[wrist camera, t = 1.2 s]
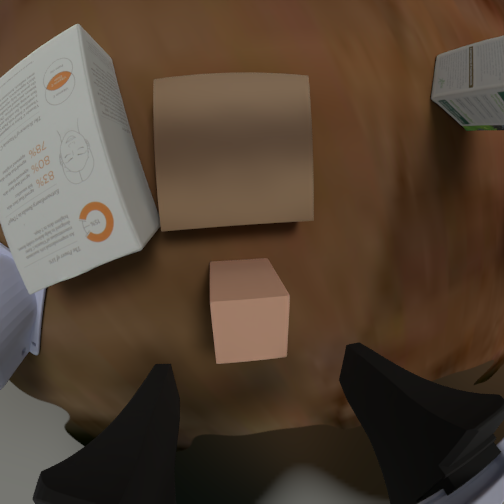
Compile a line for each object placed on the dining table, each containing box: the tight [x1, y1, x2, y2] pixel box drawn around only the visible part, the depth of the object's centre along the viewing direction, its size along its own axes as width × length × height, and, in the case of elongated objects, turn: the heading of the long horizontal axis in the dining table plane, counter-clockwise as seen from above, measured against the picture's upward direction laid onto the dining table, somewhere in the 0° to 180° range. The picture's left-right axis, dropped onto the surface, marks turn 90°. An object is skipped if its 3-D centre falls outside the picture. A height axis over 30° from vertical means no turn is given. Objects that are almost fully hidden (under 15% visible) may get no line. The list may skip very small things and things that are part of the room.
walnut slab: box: [153, 73, 314, 232], centre depth 16 cm, size 9×9×3 cm
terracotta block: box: [210, 258, 290, 364], centre depth 17 cm, size 4×4×6 cm
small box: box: [0, 24, 161, 295], centre depth 13 cm, size 8×6×13 cm
